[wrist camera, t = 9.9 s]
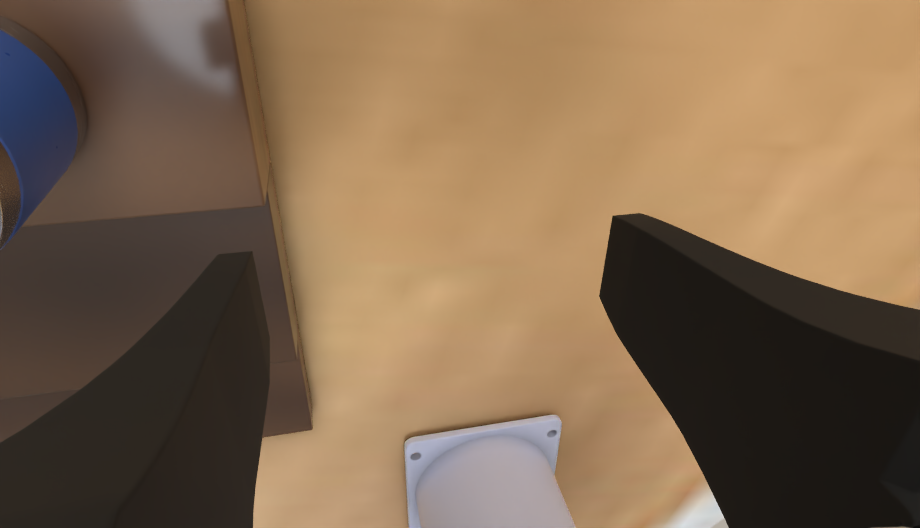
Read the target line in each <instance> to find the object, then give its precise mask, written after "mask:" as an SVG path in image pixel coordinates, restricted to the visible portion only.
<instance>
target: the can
mask: <svg viewBox="0 0 920 528" xmlns="http://www.w3.org/2000/svg"><path fill="white" fill-rule="evenodd" d="M86 132H87V109H86V105H85V101H84V97H83V94H82V92H81V89H80V87H79V84H78V83H77V81H76V79H75V77H74V75H73V74H72V72H71V71H70V69H69V68H68V67H67V65H66V64H65V62H64V61H63V60H62V59H61V58H60V57H59V55H58V54H57V53H56V52H55V51H54V50H53V49H52V48H51V47H50V46H48V45H47V44H46V43H45V42H44V41H43V40H41V39H40V38H39V37H38V36H36V35H35V34H34V33H32V32H31V31H29V30H27V29H26V28H24V27H23V26H21V25H19V24H18V23H16V22H14V21H11V20H9V19H7V18H5V17H3V16H0V250H1V249H2V248H3V247H4V246H5V245H6V244H7V243H8V242H9V241H10V240H11V238H12V237H13V236H14V235H15V234H16V232H17V231H18V230H19V229H20V227H21V226H22V225H23V224H24V222H25V221H26V220H27V219H28V217H29V216H30V215H31V214H32V213H33V211H34V210H35V209H36V208H37V206H38V205H39V204H40V203H41V201H42V200H43V199H44V198H45V197H46V195H47V194H48V193H49V192H50V190H51V189H52V188H53V187H54V185H55V184H56V183H57V182H58V180H59V179H60V178H61V177H62V176H63V174H64V173H65V172H66V170H67V169H68V167H69V165H70V164H71V162H72V161H73V160H74V159H75V157H76V156H77V154H78V153H79V151H80V149H81V147H82V145H83V143H84V140H85V136H86Z"/></svg>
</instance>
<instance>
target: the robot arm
mask: <svg viewBox="0 0 920 528" xmlns="http://www.w3.org/2000/svg"><path fill="white" fill-rule="evenodd" d="M599 297H600V299H601V302H602V304H603V306H604V308H605V311H606V313H607V315H608V317H609V319H610V321H611V323H612V325H613V328H614V330H615V332H616V334H617V335H618V337H619V338H620V340H621V342H622V343H623V345H624V346H625V348H626V349H627V351H628V352H629V354H630V355H631V357H632V358H633V360H634V361H635V363H636V364H637V366H638V367H639V369H640V370H641V372H642V373H643V375H644V376H645V378H646V379H647V381H648V382H649V384H650V385H651V387H652V388H653V389H654V391H655V392H656V394H657V395H658V397H659V398H660V400H661V401H662V403H663V404H664V406H665V407H666V409H667V410H668V412H669V413H670V415H671V416H672V418H673V419H674V421H675V423H676V424H677V426H678V428H679V429H680V431H681V433H682V434H683V436H684V438H685V440H686V442H687V444H688V446H689V448H690V449H691V451H692V453H693V455H694V457H695V459H696V461H697V463H698V465H699V467H700V469H701V470H702V472H703V474H704V476H705V478H706V481H707V483H708V485H709V487H710V489H711V491H712V493H713V495H714V497H715V499H716V501H717V503H718V505H719V507H720V509H721V512H722V514H723V516H724V518H725V520H726V522H727V525H728V527H729V528H920V310H918V309H913V308H908V307H903V306H899V305H895V304H891V303H887V302H882V301H878V300H874V299H870V298H866V297H862V296H858V295H854V294H851V293H847V292H844V291H840V290H837V289H833V288H830V287H827V286H824V285H821V284H818V283H814V282H811V281H808V280H805V279H802V278H799V277H796V276H793V275H790V274H787V273H785V272H782V271H779V270H777V269H774V268H772V267H769V266H766V265H764V264H761V263H759V262H756V261H753V260H751V259H749V258H746V257H744V256H741V255H739V254H737V253H734V252H732V251H730V250H727V249H725V248H723V247H720V246H718V245H716V244H714V243H711V242H709V241H707V240H705V239H702V238H700V237H698V236H696V235H693V234H691V233H689V232H687V231H684V230H682V229H680V228H678V227H675V226H673V225H671V224H668V223H666V222H663V221H661V220H658V219H656V218H653V217H650V216H647V215H644V214H640V213H638V214H627V215H617V216H613V217H612V223H611V229H610V235H609V241H608V247H607V253H606V259H605V265H604V271H603V277H602V283H601V289H600V295H599ZM269 384H270V335H269V330H268V325H267V320H266V315H265V311H264V306H263V301H262V296H261V291H260V286H259V281H258V276H257V271H256V266H255V261H254V256H253V251H246V252H236V253H226V254H218V255H217V256H216V257H215V258H214V259H213V261H212V262H211V263H210V264H209V265H208V266H207V267H206V268H205V270H204V271H203V272H202V273H201V274H200V275H199V277H198V278H197V279H196V280H195V281H194V282H193V284H192V285H191V286H190V287H189V288H188V289H187V290H186V292H185V293H184V294H183V295H182V296H181V297H180V298H179V299H178V301H177V302H176V303H175V304H174V305H173V306H172V307H171V308H170V309H169V310H168V312H167V313H166V314H165V315H164V316H163V317H162V318H161V319H160V320H159V321H158V322H157V323H156V324H155V325H154V326H153V327H152V328H151V329H150V330H149V331H148V332H147V333H146V334H145V335H144V336H143V337H142V338H141V339H139V340H138V341H137V342H136V343H135V344H134V345H133V346H132V347H131V348H130V349H129V350H128V351H127V352H126V353H125V354H123V355H122V356H121V357H120V358H119V359H118V360H116V361H115V362H114V363H113V364H112V365H111V366H109V367H108V368H107V369H106V370H104V371H103V372H102V373H101V374H99V375H98V376H97V377H96V378H94V379H93V380H92V381H90V382H89V383H88V384H87V385H85V386H84V387H83V388H81V389H80V390H79V391H77V392H76V393H75V394H73V395H72V396H70V397H69V398H67V399H66V400H64V401H63V402H61V403H60V404H59V405H57V406H56V407H54V408H53V409H51V410H50V411H48V412H47V413H45V414H44V415H43V416H41V417H40V418H38V419H37V420H35V421H34V422H32V423H31V424H29V425H28V426H26V427H25V428H23V429H22V430H20V431H19V432H17V433H15V434H14V435H12V436H10V437H9V438H7V439H5V440H4V441H2V442H1V443H0V528H253V506H254V496H255V485H256V478H257V471H258V464H259V457H260V449H261V442H262V435H263V428H264V421H265V414H266V407H267V399H268V392H269ZM561 427H562V422H561V420H560V418H559V417H558V416H557V415H546V416H540V417H534V418H528V419H522V420H515V421H509V422H503V423H497V424H490V425H484V426H478V427H472V428H465V429H459V430H453V431H447V432H441V433H434V434H428V435H422V436H416V437H411V438H409V439H408V440H406V442H405V444H404V454H405V472H406V490H407V508H408V526H409V528H576V526H575V524H574V522H573V519H572V517H571V515H570V512H569V510H568V507H567V505H566V503H565V500H564V498H563V496H562V493H561V491H560V488H559V486H558V484H557V481H556V479H555V477H554V475H555V468H556V461H557V454H558V447H559V440H560V434H561ZM413 453H415V454H413Z"/></svg>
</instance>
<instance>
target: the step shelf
mask: <svg viewBox="0 0 920 528" xmlns="http://www.w3.org/2000/svg"><path fill="white" fill-rule="evenodd" d="M0 16H3V17H5V18H7V19H9V20H11V21H14V22H16V23H18V24H19V25H21V26H23V27H24V28H26V29H27V30H29V31H31V32H32V33H34V34H35V35H36V36H38V37H39V38H40V39H41V40H43V41H44V42H45V43H46V44H47V45H48V46H50V47H51V48H52V49H53V50H54V51H55V52H56V53H57V54H58V55H59V57H60V58H61V59H62V60H63V61H64V62H65V64H66V65H67V67H68V68H69V69H70V71H71V72H72V74H73V75H74V77H75V79H76V81H77V83H78V84H79V87H80V89H81V92H82V94H83V97H84V101H85V105H86V109H87V132H86V136H85V140H84V143H83V145H82V147H81V149H80V151H79V153H78V154H77V156H76V157H75V159H74V160H73V161H72V162H71V164H70V165H69V167H68V169H67V170H66V172H65V173H64V174H63V176H62V177H61V178H60V179H59V180H58V182H57V183H56V184H55V185H54V187H53V188H52V189H51V190H50V192H49V193H48V194H47V195H46V197H45V198H44V199H43V200H42V201H41V203H40V204H39V205H38V206H37V208H36V209H35V210H34V211H33V213H32V214H31V215H30V216H29V217H28V219H27V220H26V221H25V222H24V224H23V225H22V226H21V227H20V229H19V230H18V231H17V232H16V234H15V235H14V236H13V237H12V238H11V240H10V241H9V242H8V243H7V244H6V245H5V246H4V247H3V248H2V249H1V250H0V443H1V442H2V441H4V440H5V439H7V438H9V437H10V436H12V435H14V434H15V433H17V432H19V431H20V430H22V429H23V428H25V427H26V426H28V425H29V424H31V423H32V422H34V421H35V420H37V419H38V418H40V417H41V416H43V415H44V414H45V413H47V412H48V411H50V410H51V409H53V408H54V407H56V406H57V405H59V404H60V403H61V402H63V401H64V400H66V399H67V398H69V397H70V396H72V395H73V394H75V393H76V392H77V391H79V390H80V389H81V388H83V387H84V386H85V385H87V384H88V383H89V382H90V381H92V380H93V379H94V378H96V377H97V376H98V375H99V374H101V373H102V372H103V371H104V370H106V369H107V368H108V367H109V366H111V365H112V364H113V363H114V362H115V361H116V360H118V359H119V358H120V357H121V356H122V355H123V354H125V353H126V352H127V351H128V350H129V349H130V348H131V347H132V346H133V345H134V344H135V343H136V342H137V341H138V340H139V339H141V338H142V337H143V336H144V335H145V334H146V333H147V332H148V331H149V330H150V329H151V328H152V327H153V326H154V325H155V324H156V323H157V322H158V321H159V320H160V319H161V318H162V317H163V316H164V315H165V314H166V313H167V312H168V310H169V309H170V308H171V307H172V306H173V305H174V304H175V303H176V302H177V301H178V299H179V298H180V297H181V296H182V295H183V294H184V293H185V292H186V290H187V289H188V288H189V287H190V286H191V285H192V284H193V282H194V281H195V280H196V279H197V278H198V277H199V275H200V274H201V273H202V272H203V271H204V270H205V268H206V267H207V266H208V265H209V264H210V263H211V262H212V261H213V259H214V258H215V257H216V256H217V255H218V254H226V253H236V252H246V251H253V256H254V261H255V266H256V271H257V276H258V281H259V286H260V291H261V296H262V301H263V306H264V311H265V315H266V320H267V325H268V330H269V335H270V384H269V392H268V399H267V407H266V414H265V421H264V428H263V435H262V437H268V436H275V435H282V434H288V433H295V432H301V431H308V430H312V429H313V420H312V405H311V399H310V393H309V387H308V381H307V375H306V369H305V363H304V357H303V351H302V345H301V339H300V333H299V327H298V322H297V316H296V310H295V304H294V298H293V292H292V286H291V280H290V274H289V268H288V262H287V256H286V250H285V244H284V238H283V232H282V226H281V220H280V214H279V208H278V202H277V196H276V190H275V184H274V178H273V172H272V166H271V162H270V154H269V148H268V142H267V136H266V130H265V124H264V118H263V112H262V106H261V100H260V94H259V89H258V83H257V77H256V71H255V65H254V59H253V53H252V47H251V41H250V35H249V29H248V23H247V17H246V11H245V5H244V0H0Z"/></svg>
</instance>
